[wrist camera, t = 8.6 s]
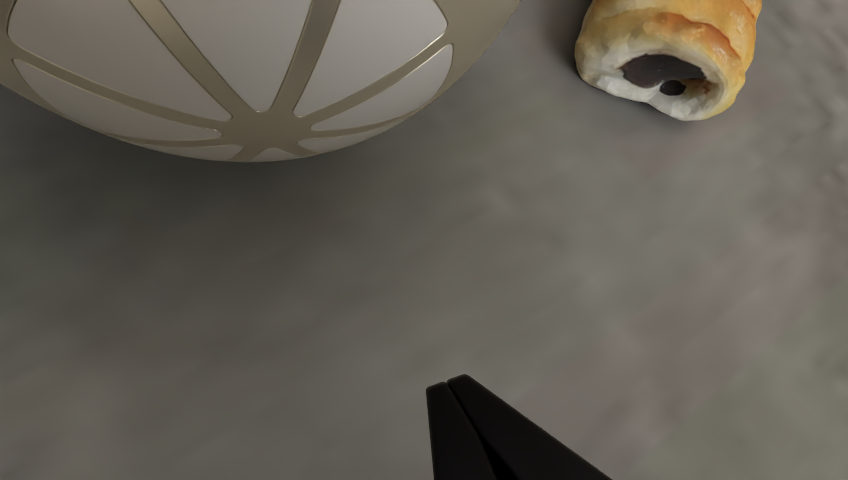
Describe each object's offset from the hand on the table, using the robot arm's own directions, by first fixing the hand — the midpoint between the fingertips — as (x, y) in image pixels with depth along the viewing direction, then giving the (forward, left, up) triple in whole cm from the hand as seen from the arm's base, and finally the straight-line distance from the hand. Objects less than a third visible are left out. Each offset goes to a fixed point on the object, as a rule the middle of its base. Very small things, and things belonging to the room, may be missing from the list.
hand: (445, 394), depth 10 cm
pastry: (-1, -17, -7) cm, 18 cm away
